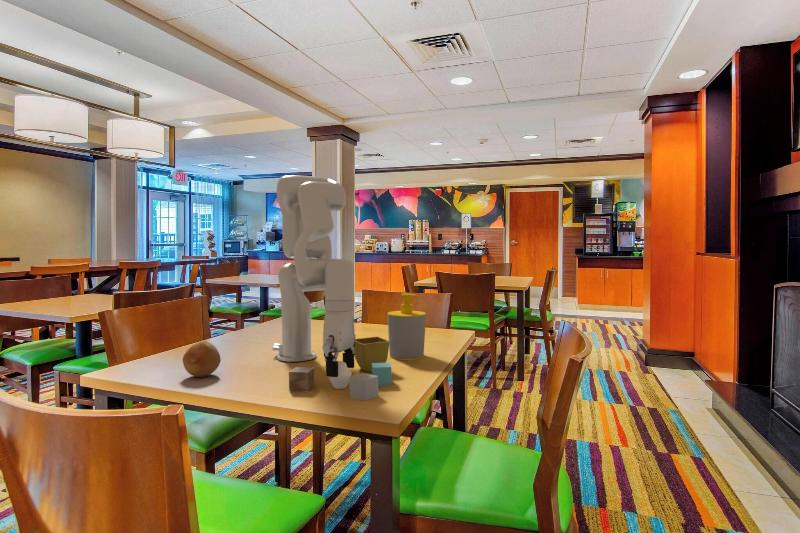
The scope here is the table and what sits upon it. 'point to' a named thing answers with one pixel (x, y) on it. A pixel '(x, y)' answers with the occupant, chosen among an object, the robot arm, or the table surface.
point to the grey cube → (363, 386)
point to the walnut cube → (301, 379)
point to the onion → (201, 359)
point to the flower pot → (370, 351)
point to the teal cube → (382, 373)
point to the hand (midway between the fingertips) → (340, 371)
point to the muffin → (341, 376)
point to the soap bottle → (406, 331)
